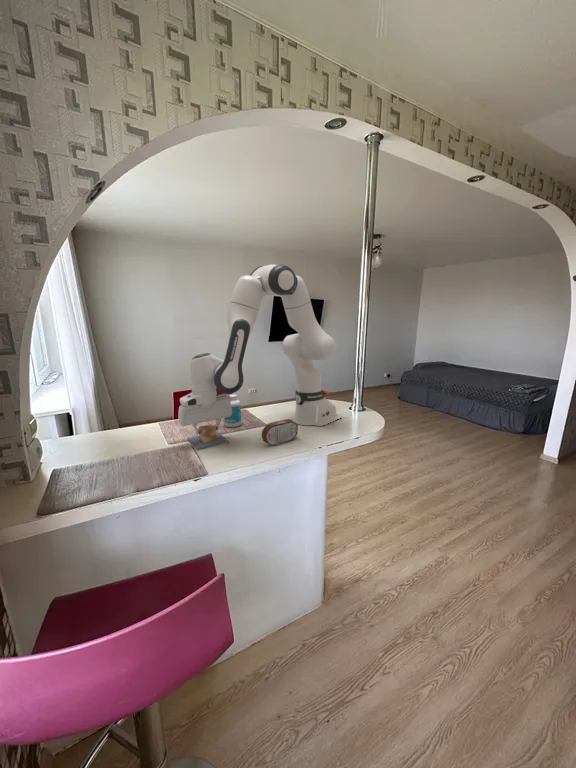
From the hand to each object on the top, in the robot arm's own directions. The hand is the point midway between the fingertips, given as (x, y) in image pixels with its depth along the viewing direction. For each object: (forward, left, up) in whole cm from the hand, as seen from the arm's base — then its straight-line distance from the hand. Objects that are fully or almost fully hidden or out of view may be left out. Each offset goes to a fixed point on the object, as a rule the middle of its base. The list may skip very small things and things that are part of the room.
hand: (207, 431), depth 127 cm
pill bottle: (-16, -12, -4) cm, 20 cm away
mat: (0, 0, -4) cm, 4 cm away
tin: (-22, +18, -4) cm, 29 cm away
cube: (0, 0, -3) cm, 3 cm away
